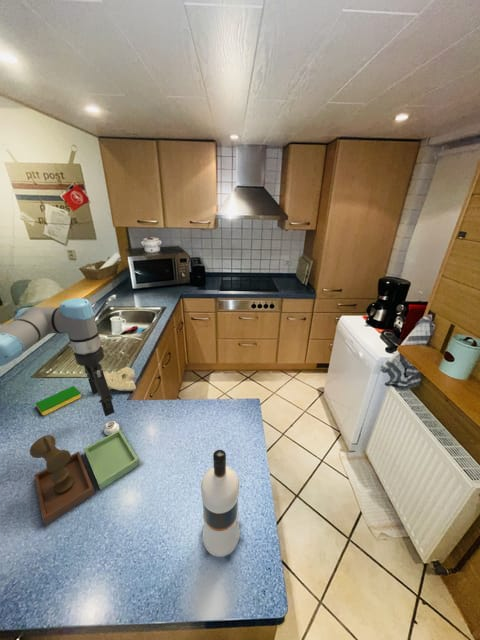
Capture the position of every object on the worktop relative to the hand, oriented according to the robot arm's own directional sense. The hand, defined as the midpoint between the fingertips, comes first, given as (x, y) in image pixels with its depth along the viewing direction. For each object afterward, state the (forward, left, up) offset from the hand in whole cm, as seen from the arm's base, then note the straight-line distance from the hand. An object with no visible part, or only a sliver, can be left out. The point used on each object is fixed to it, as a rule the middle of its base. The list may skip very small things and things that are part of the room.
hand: (103, 402), depth 85 cm
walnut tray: (+11, -16, -14) cm, 24 cm away
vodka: (+51, +10, -14) cm, 54 cm away
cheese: (-22, +10, -14) cm, 28 cm away
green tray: (+11, -3, -14) cm, 18 cm away
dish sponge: (-30, -10, -14) cm, 34 cm away
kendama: (+11, -16, -14) cm, 24 cm away
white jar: (-1, +1, -14) cm, 14 cm away
